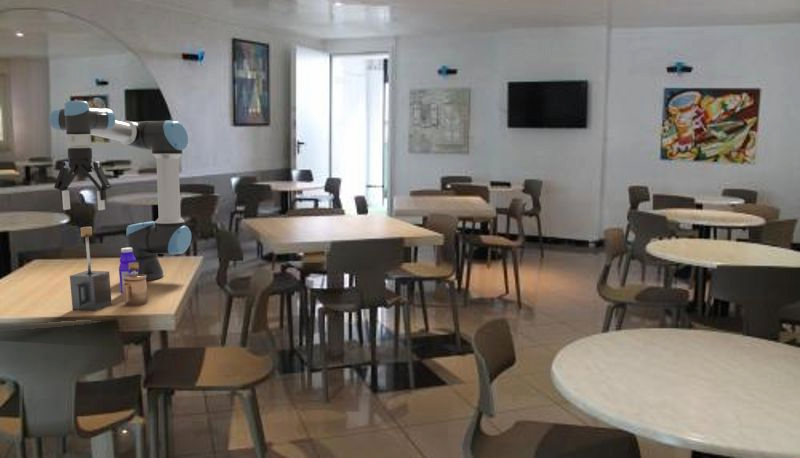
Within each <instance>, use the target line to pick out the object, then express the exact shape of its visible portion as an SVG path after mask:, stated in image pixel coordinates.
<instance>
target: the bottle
mask: <svg viewBox="0 0 800 458" xmlns="http://www.w3.org/2000/svg"><path fill="white" fill-rule="evenodd" d="M120 252H121V253H120V258H119V263H120V264H119V266H118V276H119V288H120V289H119V290H120V293H121V295H123V293H122V285H124V284H123V279H122V277H123V276H125V275H130V274H133V270H129V263H131V262H135V260H136V259H135V257H134V255H133V249H132V248H127V247H122V248H120ZM136 274H138V270H136Z"/></svg>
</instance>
